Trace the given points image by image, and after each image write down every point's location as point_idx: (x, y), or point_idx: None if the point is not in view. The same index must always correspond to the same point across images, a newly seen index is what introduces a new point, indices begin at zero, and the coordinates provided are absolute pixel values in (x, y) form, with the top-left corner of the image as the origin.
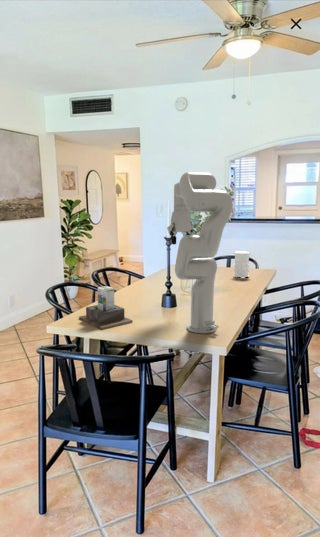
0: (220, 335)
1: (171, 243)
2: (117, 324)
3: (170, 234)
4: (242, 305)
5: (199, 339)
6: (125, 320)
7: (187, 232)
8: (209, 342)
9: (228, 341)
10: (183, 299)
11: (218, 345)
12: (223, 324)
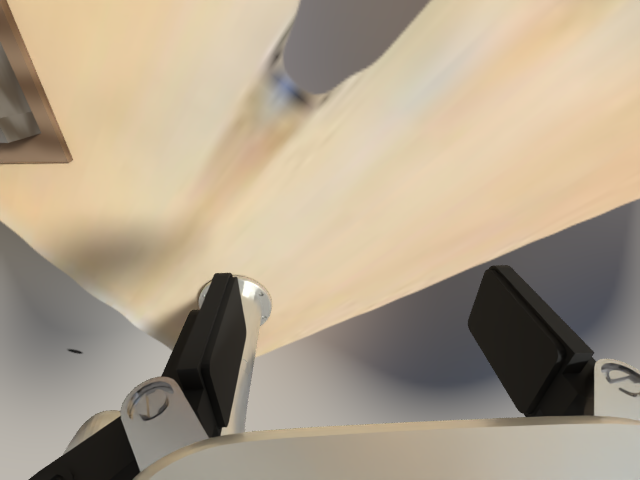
0: None
1: (217, 280)
2: (6, 162)
3: (109, 438)
4: (498, 234)
5: None
6: (41, 149)
7: (627, 416)
8: None
9: None
10: (436, 20)
11: None
12: (304, 307)
